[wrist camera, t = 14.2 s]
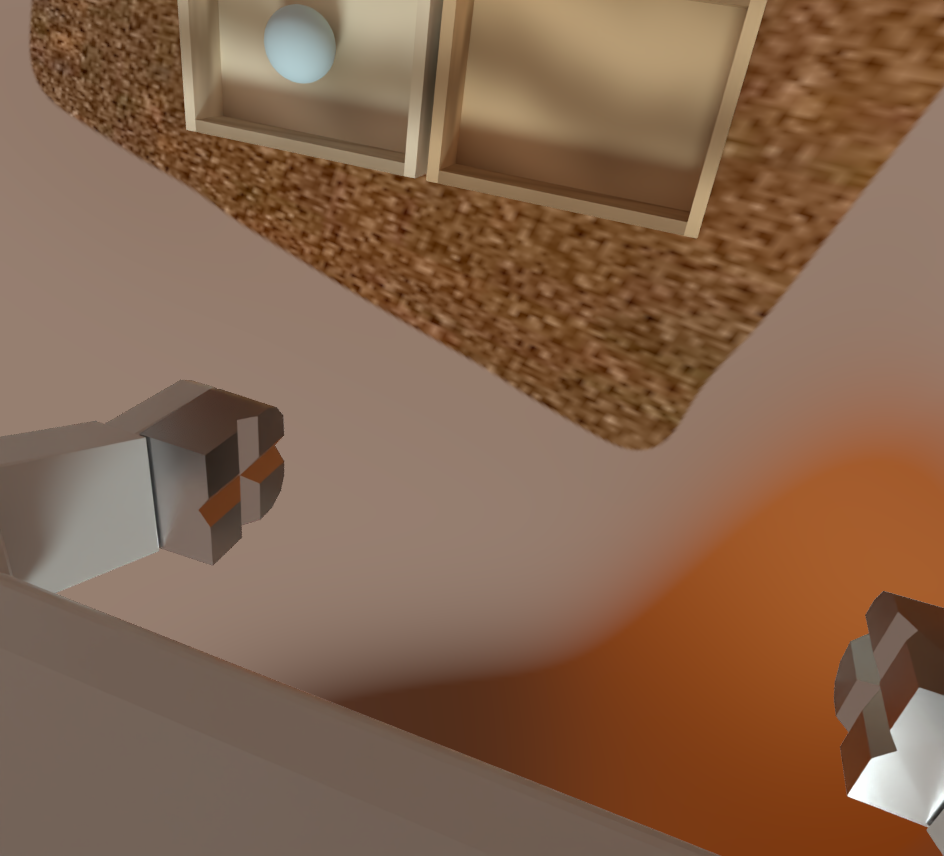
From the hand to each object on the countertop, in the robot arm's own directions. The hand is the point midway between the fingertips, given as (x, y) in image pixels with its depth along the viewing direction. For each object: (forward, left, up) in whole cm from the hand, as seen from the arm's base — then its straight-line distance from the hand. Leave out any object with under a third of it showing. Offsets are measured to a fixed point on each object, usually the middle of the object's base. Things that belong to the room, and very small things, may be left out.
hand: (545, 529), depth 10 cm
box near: (-3, -6, -29) cm, 30 cm away
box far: (-3, -19, -29) cm, 35 cm away
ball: (-3, -19, -28) cm, 35 cm away
